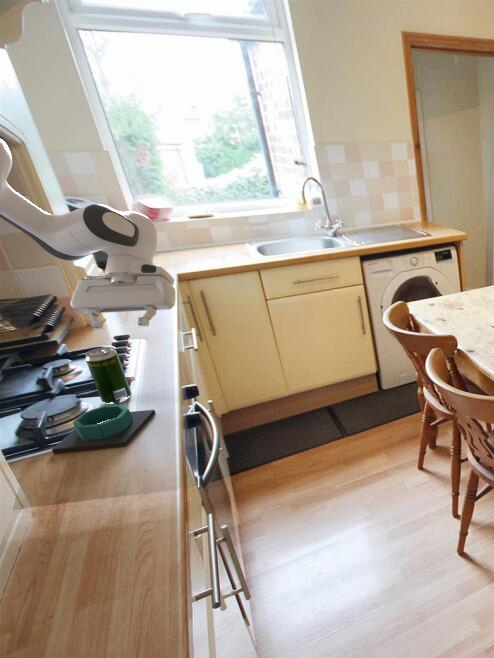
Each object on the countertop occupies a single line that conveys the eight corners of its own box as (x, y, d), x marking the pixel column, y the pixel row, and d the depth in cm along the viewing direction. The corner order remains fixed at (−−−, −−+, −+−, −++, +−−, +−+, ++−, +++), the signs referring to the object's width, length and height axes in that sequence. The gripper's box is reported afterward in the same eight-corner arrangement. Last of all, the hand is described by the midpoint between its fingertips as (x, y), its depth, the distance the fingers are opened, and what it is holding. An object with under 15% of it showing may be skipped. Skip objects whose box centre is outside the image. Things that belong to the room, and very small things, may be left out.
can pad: (53, 453, 87) (45, 436, 86) (91, 419, 98) (84, 402, 96) (126, 446, 90) (119, 429, 88) (155, 413, 100) (150, 397, 99)
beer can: (138, 396, 107) (121, 348, 102) (113, 407, 102) (94, 358, 97) (122, 391, 109) (104, 345, 104) (96, 403, 104) (77, 354, 99)
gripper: (70, 269, 108) (57, 324, 103) (168, 266, 112) (161, 318, 107) (88, 283, 114) (77, 335, 109) (181, 279, 118) (175, 329, 113)
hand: (120, 326), depth 108 cm, fingers open, 8 cm apart
